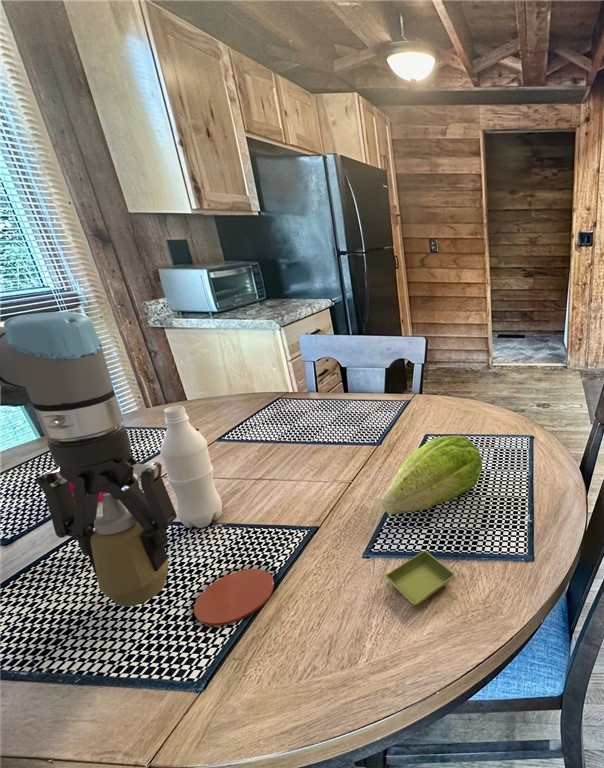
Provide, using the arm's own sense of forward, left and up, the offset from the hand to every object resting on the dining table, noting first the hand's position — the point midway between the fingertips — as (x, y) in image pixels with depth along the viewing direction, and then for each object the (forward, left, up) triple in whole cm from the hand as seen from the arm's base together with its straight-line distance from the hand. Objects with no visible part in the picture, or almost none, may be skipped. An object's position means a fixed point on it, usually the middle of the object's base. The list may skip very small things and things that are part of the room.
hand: (133, 566), depth 63 cm
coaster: (+8, +10, -8) cm, 15 cm away
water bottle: (-18, +12, -8) cm, 23 cm away
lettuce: (+10, +49, -8) cm, 51 cm away
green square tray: (+28, +32, -8) cm, 43 cm away
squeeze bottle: (0, 0, -5) cm, 5 cm away
